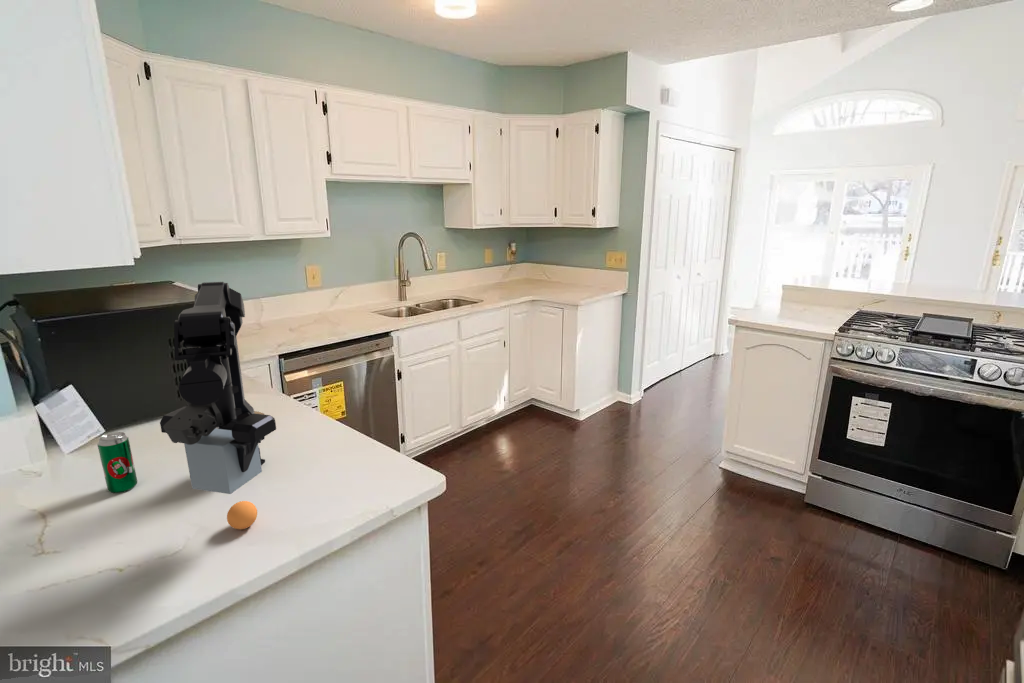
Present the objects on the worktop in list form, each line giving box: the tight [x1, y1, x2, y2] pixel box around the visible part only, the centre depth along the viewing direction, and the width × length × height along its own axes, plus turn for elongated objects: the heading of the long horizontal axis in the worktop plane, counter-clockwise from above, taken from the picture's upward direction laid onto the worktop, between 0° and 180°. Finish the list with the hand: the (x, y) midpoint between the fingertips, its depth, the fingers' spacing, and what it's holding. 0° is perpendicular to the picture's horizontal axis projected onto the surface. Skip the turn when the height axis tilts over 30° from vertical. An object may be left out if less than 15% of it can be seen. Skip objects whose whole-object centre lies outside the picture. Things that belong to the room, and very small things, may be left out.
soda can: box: [97, 431, 138, 494], centre depth 104 cm, size 5×5×12 cm
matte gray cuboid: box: [183, 429, 263, 495], centre depth 87 cm, size 8×8×9 cm
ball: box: [226, 500, 258, 530], centre depth 93 cm, size 5×5×5 cm
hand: (225, 468), depth 88 cm, fingers closed on matte gray cuboid, 8 cm apart
